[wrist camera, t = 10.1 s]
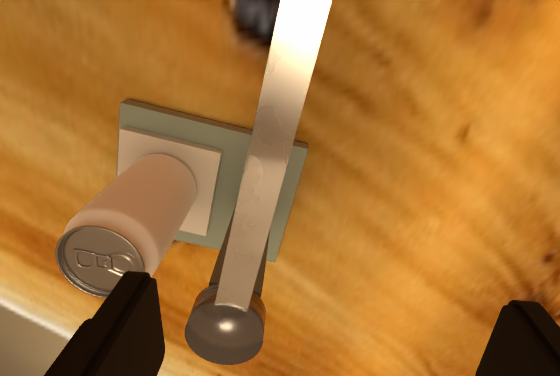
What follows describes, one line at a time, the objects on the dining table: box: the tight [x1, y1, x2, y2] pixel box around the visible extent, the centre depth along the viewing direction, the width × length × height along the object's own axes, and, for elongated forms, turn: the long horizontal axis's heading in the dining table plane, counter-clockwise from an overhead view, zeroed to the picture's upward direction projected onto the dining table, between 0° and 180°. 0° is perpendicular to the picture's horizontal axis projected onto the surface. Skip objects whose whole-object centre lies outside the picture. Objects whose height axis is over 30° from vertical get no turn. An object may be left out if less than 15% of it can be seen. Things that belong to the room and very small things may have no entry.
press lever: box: [185, 0, 332, 365], centre depth 17 cm, size 25×4×3 cm, turn 166°
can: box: [55, 154, 197, 298], centre depth 28 cm, size 6×6×12 cm
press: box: [116, 99, 308, 297], centre depth 29 cm, size 17×13×16 cm
